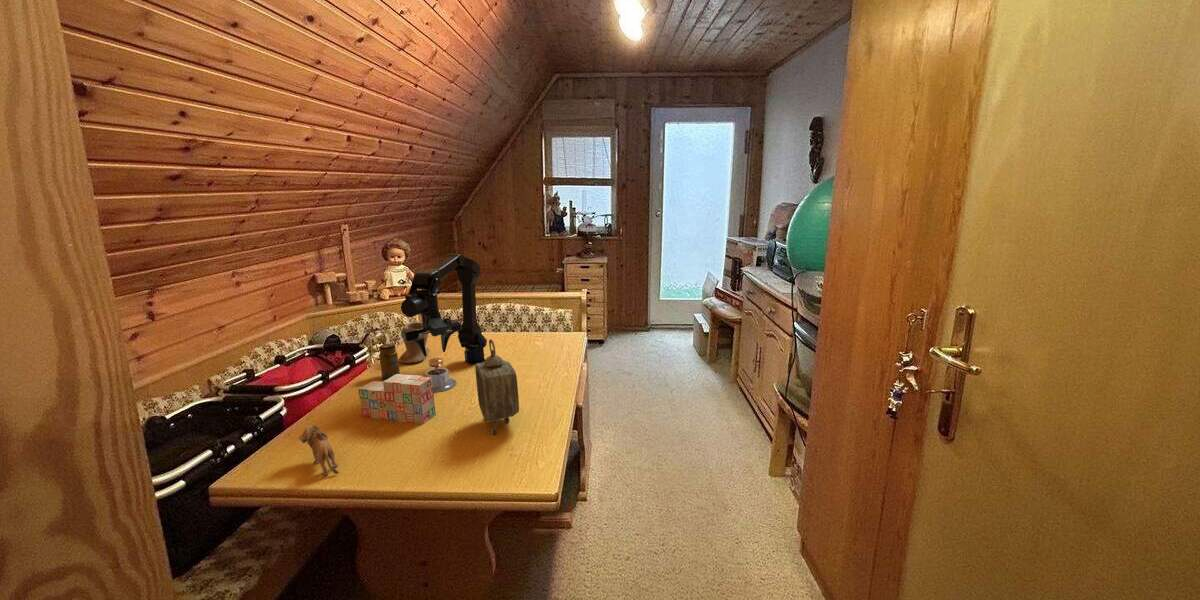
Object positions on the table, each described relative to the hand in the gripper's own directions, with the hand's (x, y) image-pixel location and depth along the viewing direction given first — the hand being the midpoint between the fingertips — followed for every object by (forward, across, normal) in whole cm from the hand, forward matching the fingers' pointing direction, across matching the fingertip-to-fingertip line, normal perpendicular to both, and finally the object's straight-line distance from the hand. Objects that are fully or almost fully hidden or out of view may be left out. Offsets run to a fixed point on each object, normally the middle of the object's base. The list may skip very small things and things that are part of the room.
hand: (434, 354), depth 162 cm
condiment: (+12, -10, +20) cm, 25 cm away
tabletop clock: (+12, +3, -40) cm, 42 cm away
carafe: (+11, -1, 0) cm, 11 cm away
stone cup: (+12, +4, +34) cm, 36 cm away
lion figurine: (+12, -40, -30) cm, 51 cm away
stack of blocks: (+12, -17, -15) cm, 26 cm away
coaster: (+12, 0, 0) cm, 12 cm away
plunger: (+10, 0, 0) cm, 10 cm away
